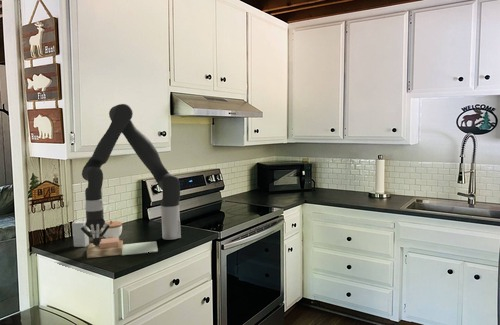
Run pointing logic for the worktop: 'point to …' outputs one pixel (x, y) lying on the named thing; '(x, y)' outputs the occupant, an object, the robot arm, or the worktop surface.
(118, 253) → the oak board
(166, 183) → the robot arm
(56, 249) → the worktop surface
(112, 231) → the lidded jar
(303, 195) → the worktop surface
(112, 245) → the terracotta coaster
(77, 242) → the skincare box
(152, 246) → the sage mat
